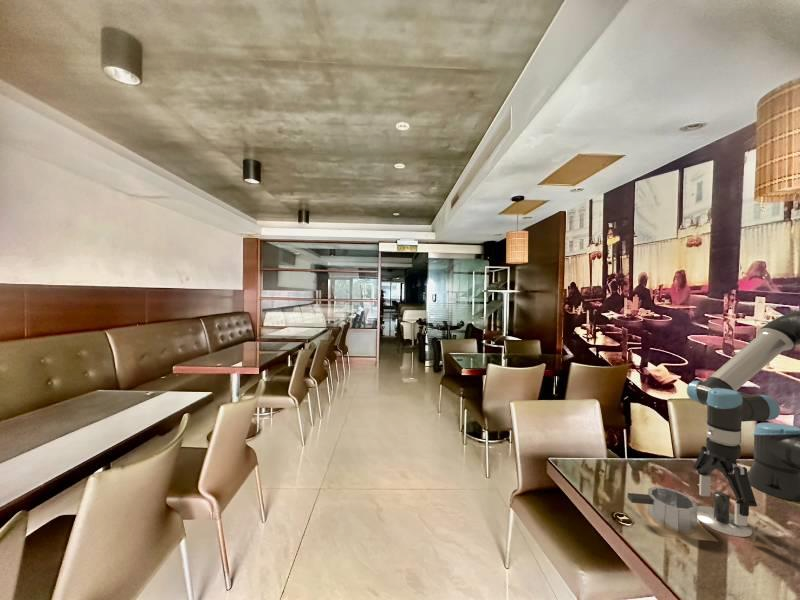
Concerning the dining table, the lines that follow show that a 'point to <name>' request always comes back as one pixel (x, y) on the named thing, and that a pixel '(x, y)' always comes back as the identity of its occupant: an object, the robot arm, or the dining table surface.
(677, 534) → the trivet
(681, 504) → the pot
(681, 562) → the dining table surface
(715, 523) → the lid
